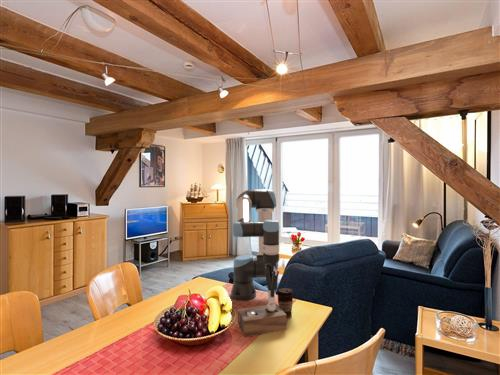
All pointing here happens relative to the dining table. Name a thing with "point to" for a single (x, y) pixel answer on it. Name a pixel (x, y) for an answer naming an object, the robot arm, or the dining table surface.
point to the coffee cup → (285, 300)
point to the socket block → (261, 321)
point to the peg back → (271, 308)
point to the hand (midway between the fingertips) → (271, 302)
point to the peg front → (251, 313)
